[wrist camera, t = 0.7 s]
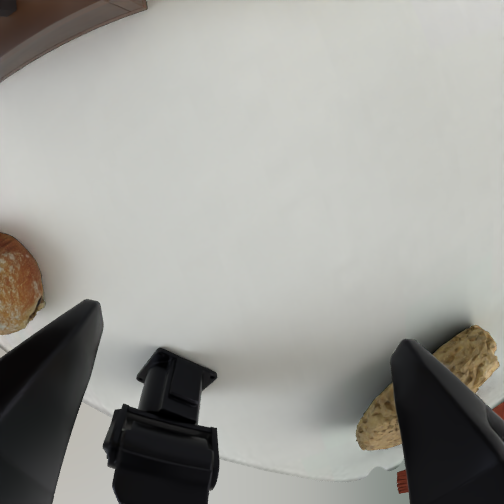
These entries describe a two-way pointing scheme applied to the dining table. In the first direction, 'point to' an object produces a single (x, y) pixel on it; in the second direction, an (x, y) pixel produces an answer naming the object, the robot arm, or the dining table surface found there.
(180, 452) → the robot arm
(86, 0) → the hatch
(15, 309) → the bread roll
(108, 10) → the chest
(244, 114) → the dining table surface
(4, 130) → the dining table surface
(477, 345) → the sponge
